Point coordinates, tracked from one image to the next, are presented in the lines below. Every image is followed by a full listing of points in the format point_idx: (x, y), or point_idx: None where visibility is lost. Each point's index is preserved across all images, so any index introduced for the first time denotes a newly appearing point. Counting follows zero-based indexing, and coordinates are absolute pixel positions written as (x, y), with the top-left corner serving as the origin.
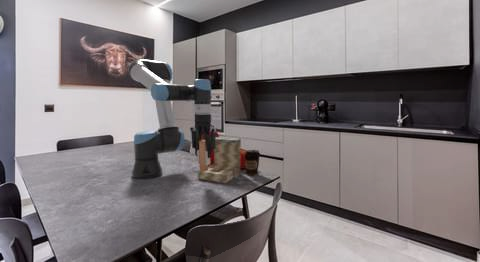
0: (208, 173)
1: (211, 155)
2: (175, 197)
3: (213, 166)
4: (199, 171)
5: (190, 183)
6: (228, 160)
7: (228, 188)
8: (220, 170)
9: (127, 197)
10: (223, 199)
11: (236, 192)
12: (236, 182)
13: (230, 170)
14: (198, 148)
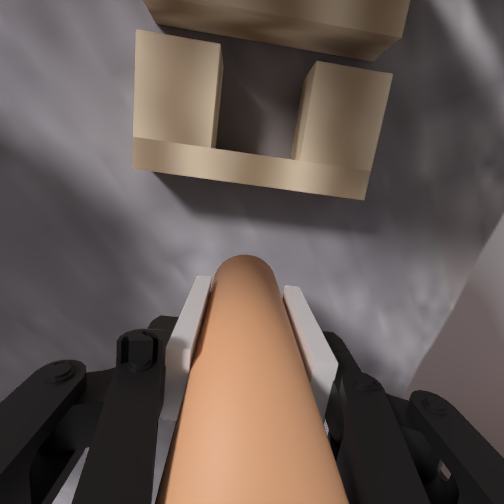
0: (231, 181)
1: (345, 346)
2: None
3: None
4: (150, 170)
5: (164, 264)
6: None
7: (384, 263)
8: (263, 24)
9: None
10: (395, 376)
11: (432, 296)
12: (405, 160)
13: (359, 35)
14: (158, 410)
